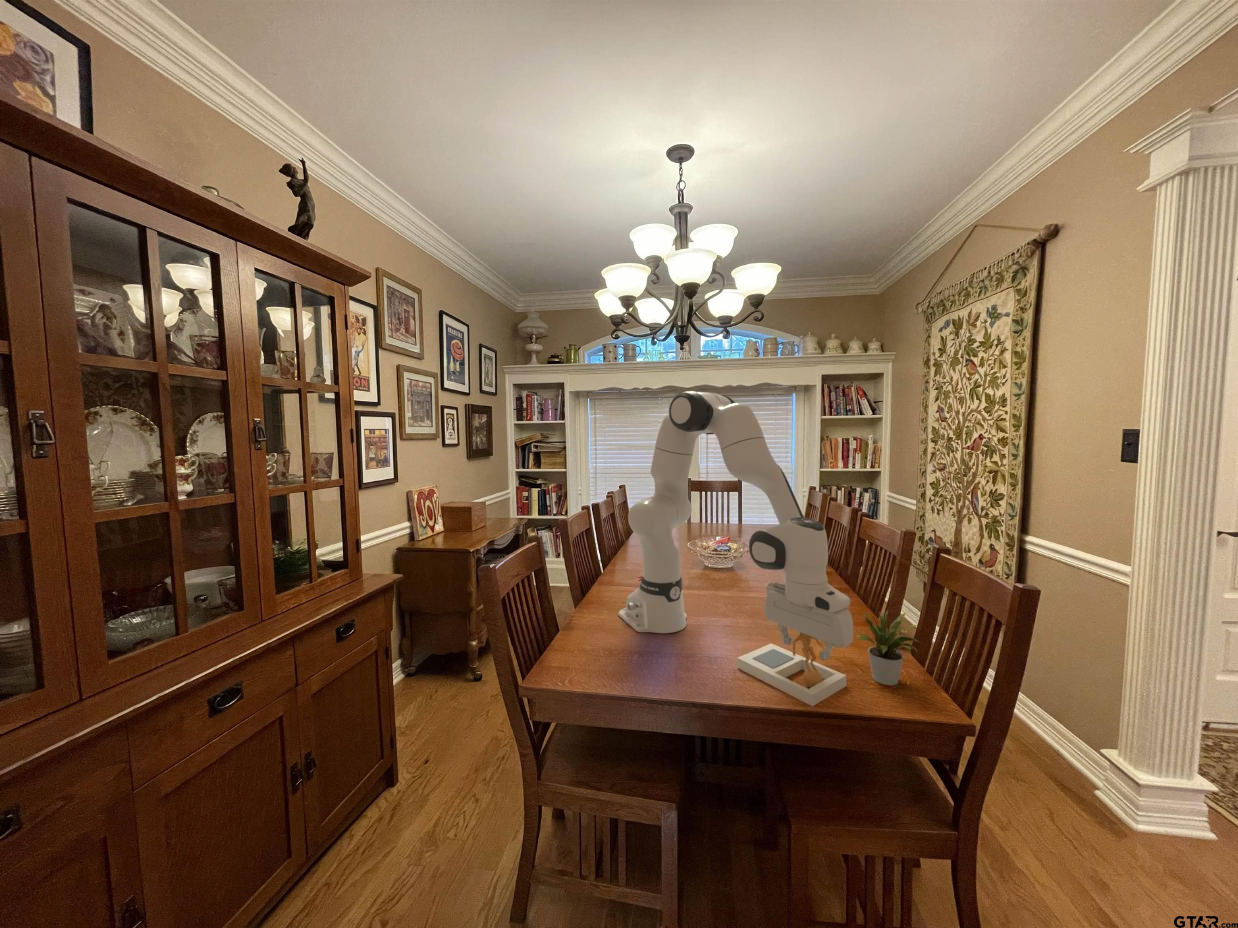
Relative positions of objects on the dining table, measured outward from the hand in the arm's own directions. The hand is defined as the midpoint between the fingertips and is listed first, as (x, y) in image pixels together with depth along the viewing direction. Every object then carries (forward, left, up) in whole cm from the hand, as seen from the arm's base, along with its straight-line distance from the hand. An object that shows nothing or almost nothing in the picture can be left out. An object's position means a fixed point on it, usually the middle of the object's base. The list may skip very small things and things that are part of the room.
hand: (805, 651), depth 105 cm
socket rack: (-4, 0, -8) cm, 9 cm away
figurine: (+1, 0, -8) cm, 8 cm away
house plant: (+9, +15, -8) cm, 19 cm away
